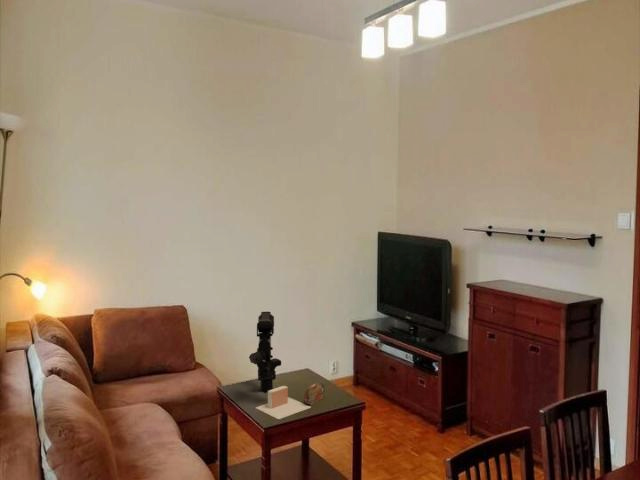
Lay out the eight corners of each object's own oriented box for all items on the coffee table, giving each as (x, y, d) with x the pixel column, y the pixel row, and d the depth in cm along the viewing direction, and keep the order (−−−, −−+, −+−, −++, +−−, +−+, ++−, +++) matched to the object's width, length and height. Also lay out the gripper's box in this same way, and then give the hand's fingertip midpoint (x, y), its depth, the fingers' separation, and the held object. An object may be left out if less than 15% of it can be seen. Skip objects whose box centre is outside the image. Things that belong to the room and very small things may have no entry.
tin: (308, 407, 256) (308, 390, 255) (303, 406, 257) (303, 389, 257) (324, 397, 269) (324, 381, 268) (319, 396, 270) (319, 379, 269)
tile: (268, 406, 255) (267, 390, 255) (284, 401, 262) (284, 385, 261) (271, 408, 253) (271, 392, 253) (288, 403, 260) (287, 387, 259)
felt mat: (255, 408, 255) (255, 407, 255) (287, 397, 268) (287, 396, 268) (278, 420, 241) (278, 419, 241) (311, 407, 255) (311, 407, 255)
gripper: (240, 345, 264) (241, 375, 265) (263, 353, 250) (263, 385, 252) (258, 340, 272) (259, 370, 273) (281, 348, 258) (282, 379, 259)
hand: (265, 376), depth 264 cm, fingers open, 6 cm apart
